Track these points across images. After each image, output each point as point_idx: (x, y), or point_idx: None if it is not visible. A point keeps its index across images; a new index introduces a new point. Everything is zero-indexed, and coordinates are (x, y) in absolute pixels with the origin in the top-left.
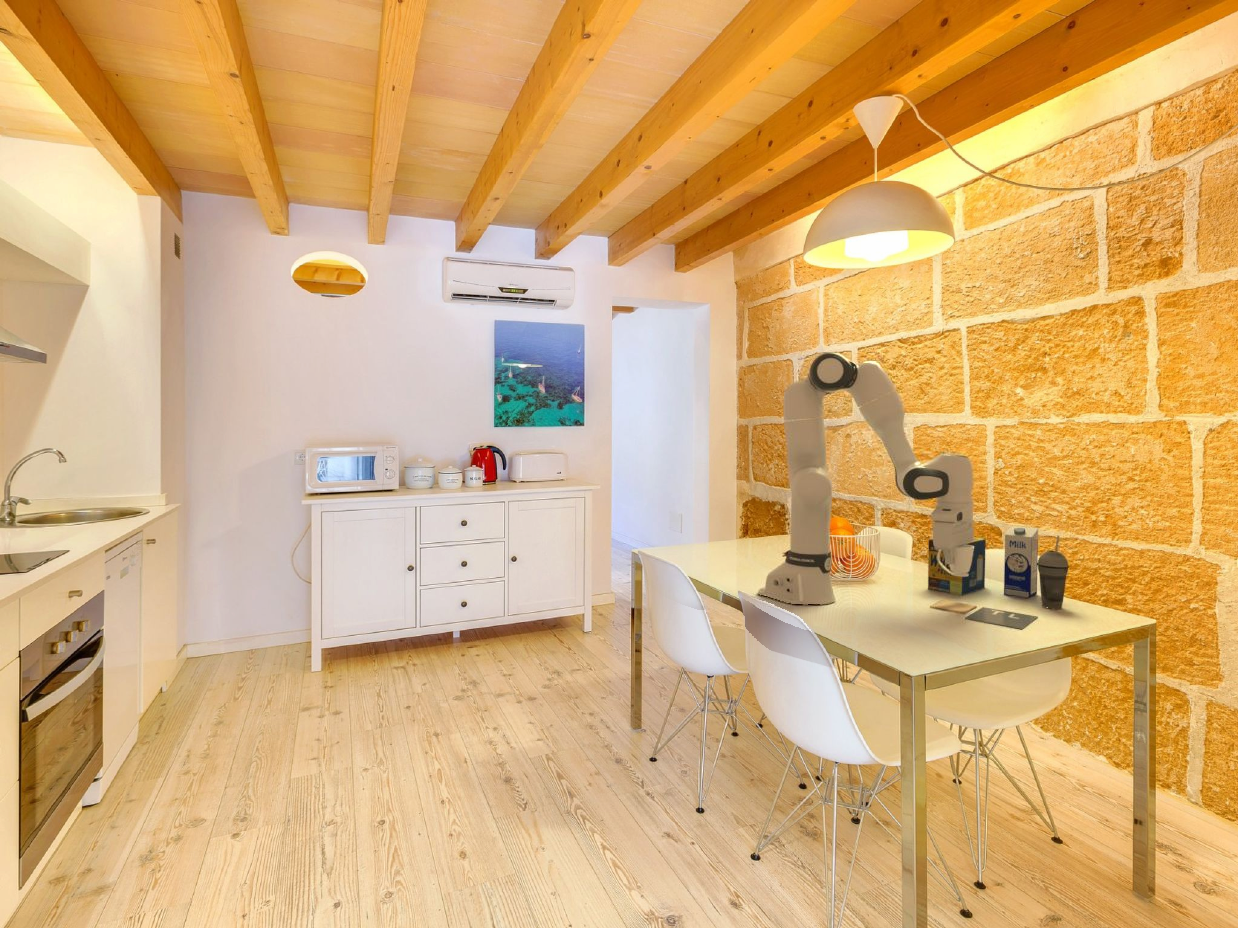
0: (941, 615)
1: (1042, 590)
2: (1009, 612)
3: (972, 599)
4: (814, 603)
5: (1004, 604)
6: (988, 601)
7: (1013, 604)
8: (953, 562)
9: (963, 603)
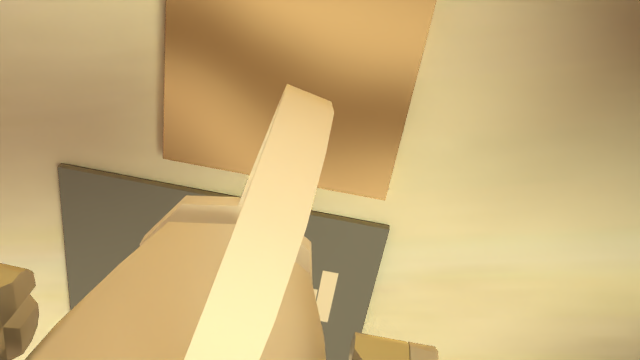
0: (26, 33)
1: None
2: (340, 338)
3: (619, 153)
4: None
5: (552, 312)
6: (598, 240)
7: (575, 347)
8: (19, 341)
9: (399, 126)
